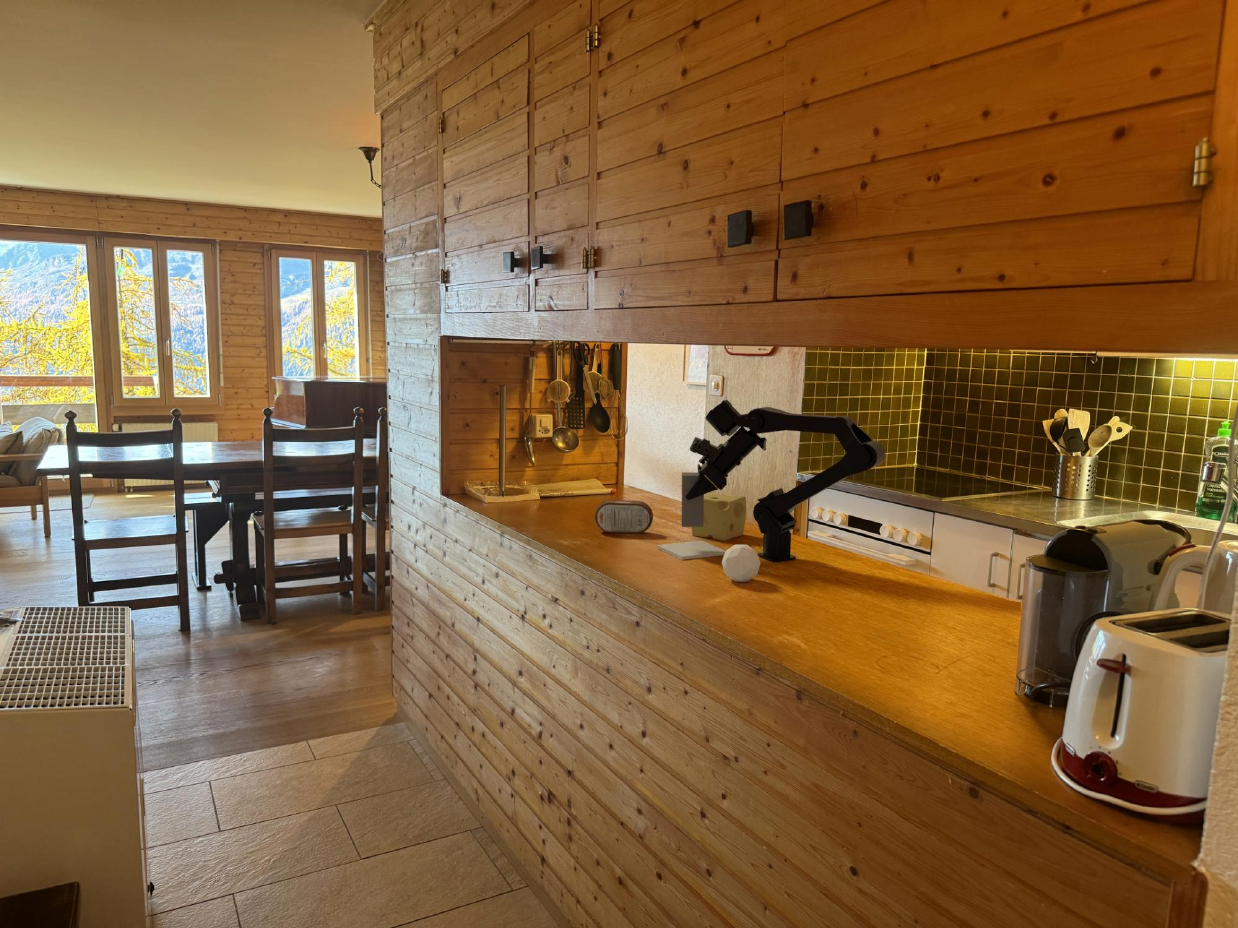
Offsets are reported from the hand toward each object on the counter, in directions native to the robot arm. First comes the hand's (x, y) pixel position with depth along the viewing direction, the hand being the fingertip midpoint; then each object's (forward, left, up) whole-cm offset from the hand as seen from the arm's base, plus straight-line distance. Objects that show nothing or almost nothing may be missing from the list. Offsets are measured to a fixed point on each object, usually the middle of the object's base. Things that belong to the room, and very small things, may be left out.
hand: (686, 496), depth 203 cm
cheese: (+12, -16, -13) cm, 24 cm away
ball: (-27, +2, -13) cm, 30 cm away
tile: (-1, -1, -13) cm, 13 cm away
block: (-1, -1, -7) cm, 7 cm away
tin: (+24, +5, -13) cm, 28 cm away
